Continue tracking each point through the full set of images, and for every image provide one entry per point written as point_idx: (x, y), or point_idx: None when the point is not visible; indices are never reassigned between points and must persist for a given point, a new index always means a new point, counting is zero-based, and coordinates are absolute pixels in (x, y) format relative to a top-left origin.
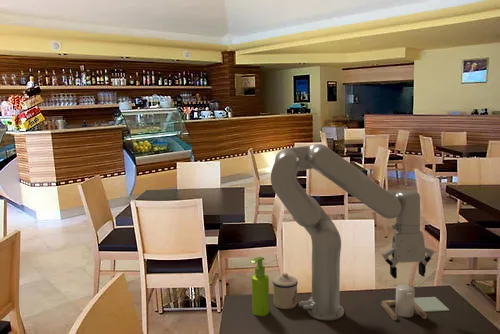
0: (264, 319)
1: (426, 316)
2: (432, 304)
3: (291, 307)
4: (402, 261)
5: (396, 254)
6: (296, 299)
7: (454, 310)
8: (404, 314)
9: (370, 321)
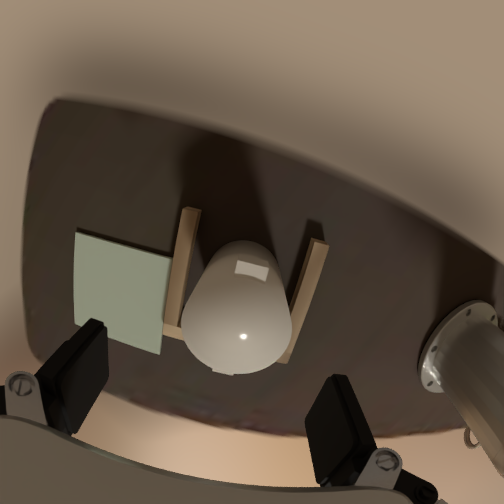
0: None
1: (185, 207)
2: (106, 285)
3: None
4: (356, 498)
5: None
6: None
7: (63, 228)
8: (266, 251)
9: (401, 263)
